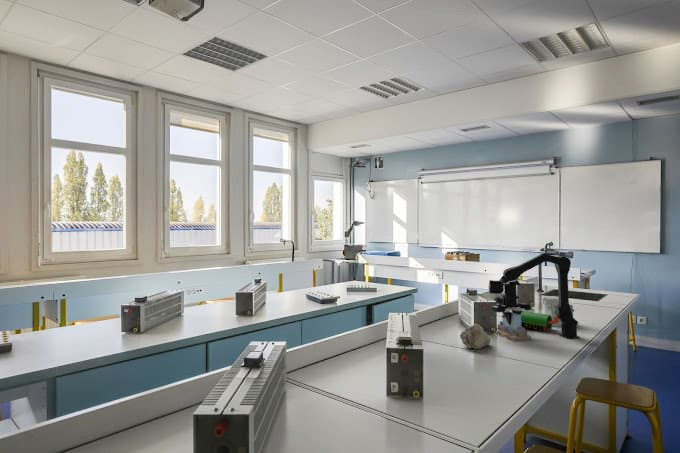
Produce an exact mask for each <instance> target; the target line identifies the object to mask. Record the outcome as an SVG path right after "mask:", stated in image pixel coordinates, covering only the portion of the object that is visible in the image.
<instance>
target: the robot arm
mask: <svg viewBox="0 0 680 453" xmlns="http://www.w3.org/2000/svg"><path fill="white" fill-rule="evenodd" d="M545 262H547V263H552V264H554V268H555V271H556V273H557V286H558V287H557V291H558V297H559V303H558V306H556V305H555V314H556V316H557V317H558V318H559V319H560V320H561V322H562V326H560V327H561V333H560V334H559V336H560V337H563V338H565V339H578V338H581V336H579V335H578V331H577V326H578V325H579V321H578V320H577V319H575V317H574V314H573V315H572V311H571V308H570V305H569V304H570V300H569V299H570V298H569V296H570V295H569V273H570V270H571V265H572V264H571V259H570V258H569V257H567V256H563V255H557V256H555V255H552V254H548V253H546V252H543V253H540V254H539V255H537V256H535V257H532V258H530V259H529V260H527V261H525V262H522V263H520V264H519V265H517V266H512V267H508V268H505V269H504V270H503V272H502V276H501V278H500V279H499V280H491V279H489V282H488V293H489V294H490V295H492V294H493V295H499V294H502V293H504V295H502V298H501V297H499V296H497V297H495V298H494V302H495V301H496V303H495V304H494V305H495V306H493V305H492V306H491V311H493V312H495V313H502V312H503V314H504V315H505V317H506V319H507V322H508V324H509V325H511V314H512V313H515V314H519V315H520V314H521V313H522V312H523V311H531V310H532V307H531V306H532V305H531V304H530V303H526V302H518V299H519V295H518V292H517V291H518V288H517V286H521V285H522V284H521V283H520V282H519V281H518V280H517V279H518V278H520V276H522V274H524V273H525V272H527V271H529V270H531V269H533V268H535V267H538V266H539V265H541V264H543V263H545ZM522 309H524V310H522ZM510 310H511V311H510Z"/></svg>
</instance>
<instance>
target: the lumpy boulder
mask: <svg viewBox="0 0 680 453" xmlns="http://www.w3.org/2000/svg"><path fill="white" fill-rule="evenodd" d="M459 337H460V339H461V342H462V344H463V345H465V347H466V348H467V347H468V348H467V349H470V348H471V349H472V348H474V349H473V350H476V349H477V350H478V349H479V350H480V349H482V348H484V347H488V346H489V345H490V343H491V337H490V336H489V335H488V334H487V332H486V331H485V330H484V328H483V327H482V326H481V325H479V323H474V324H473V325H469V326H468V325H467V327H466V328H465V329H463V330H462V331H461V333H460V334H459Z"/></svg>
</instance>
